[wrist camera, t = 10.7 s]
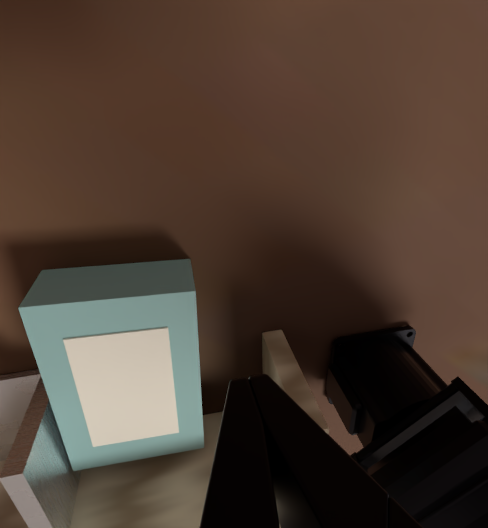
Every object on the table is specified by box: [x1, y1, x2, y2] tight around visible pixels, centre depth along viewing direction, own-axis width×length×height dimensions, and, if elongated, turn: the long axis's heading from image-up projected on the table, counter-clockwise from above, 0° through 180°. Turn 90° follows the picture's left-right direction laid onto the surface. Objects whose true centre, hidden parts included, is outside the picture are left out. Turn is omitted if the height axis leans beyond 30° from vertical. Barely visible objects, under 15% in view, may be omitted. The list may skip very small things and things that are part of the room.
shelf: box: [0, 329, 329, 528], centre depth 21 cm, size 22×8×8 cm, turn 92°
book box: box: [18, 259, 204, 471], centre depth 21 cm, size 8×12×4 cm, turn 179°
